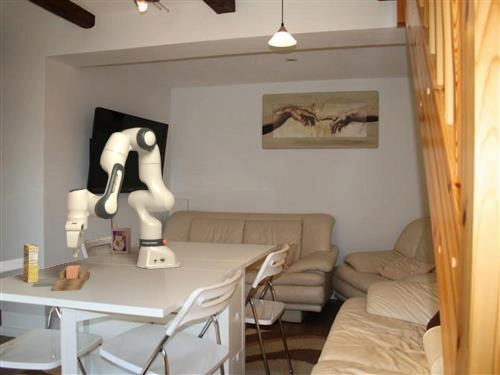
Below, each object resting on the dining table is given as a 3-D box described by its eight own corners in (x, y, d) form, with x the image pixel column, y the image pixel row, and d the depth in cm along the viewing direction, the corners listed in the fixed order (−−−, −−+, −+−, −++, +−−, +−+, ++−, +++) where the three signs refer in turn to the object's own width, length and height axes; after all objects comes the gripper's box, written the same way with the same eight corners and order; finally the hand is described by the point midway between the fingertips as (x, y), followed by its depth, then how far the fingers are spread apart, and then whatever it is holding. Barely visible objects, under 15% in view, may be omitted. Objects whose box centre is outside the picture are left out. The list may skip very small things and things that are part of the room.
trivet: (61, 281, 184) (61, 278, 184) (56, 285, 176) (56, 282, 176) (39, 281, 182) (39, 278, 182) (33, 286, 174) (33, 283, 174)
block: (79, 276, 183) (79, 265, 183) (77, 278, 179) (77, 267, 179) (68, 276, 182) (68, 265, 182) (66, 278, 178) (66, 267, 178)
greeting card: (110, 252, 262) (110, 228, 262) (117, 251, 269) (118, 227, 269) (126, 253, 259) (127, 229, 259) (133, 252, 266) (133, 228, 266)
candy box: (22, 279, 186) (22, 244, 186) (33, 278, 189) (33, 243, 189) (28, 283, 179) (28, 246, 179) (38, 281, 182) (39, 245, 182)
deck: (90, 277, 193) (90, 264, 193) (80, 289, 169) (80, 275, 169) (66, 277, 191) (66, 265, 191) (53, 290, 167) (53, 276, 167)
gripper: (73, 223, 197) (72, 253, 197) (64, 226, 177) (63, 260, 177) (88, 223, 198) (87, 253, 198) (80, 226, 178) (79, 260, 178)
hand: (75, 256), depth 187 cm, fingers closed
